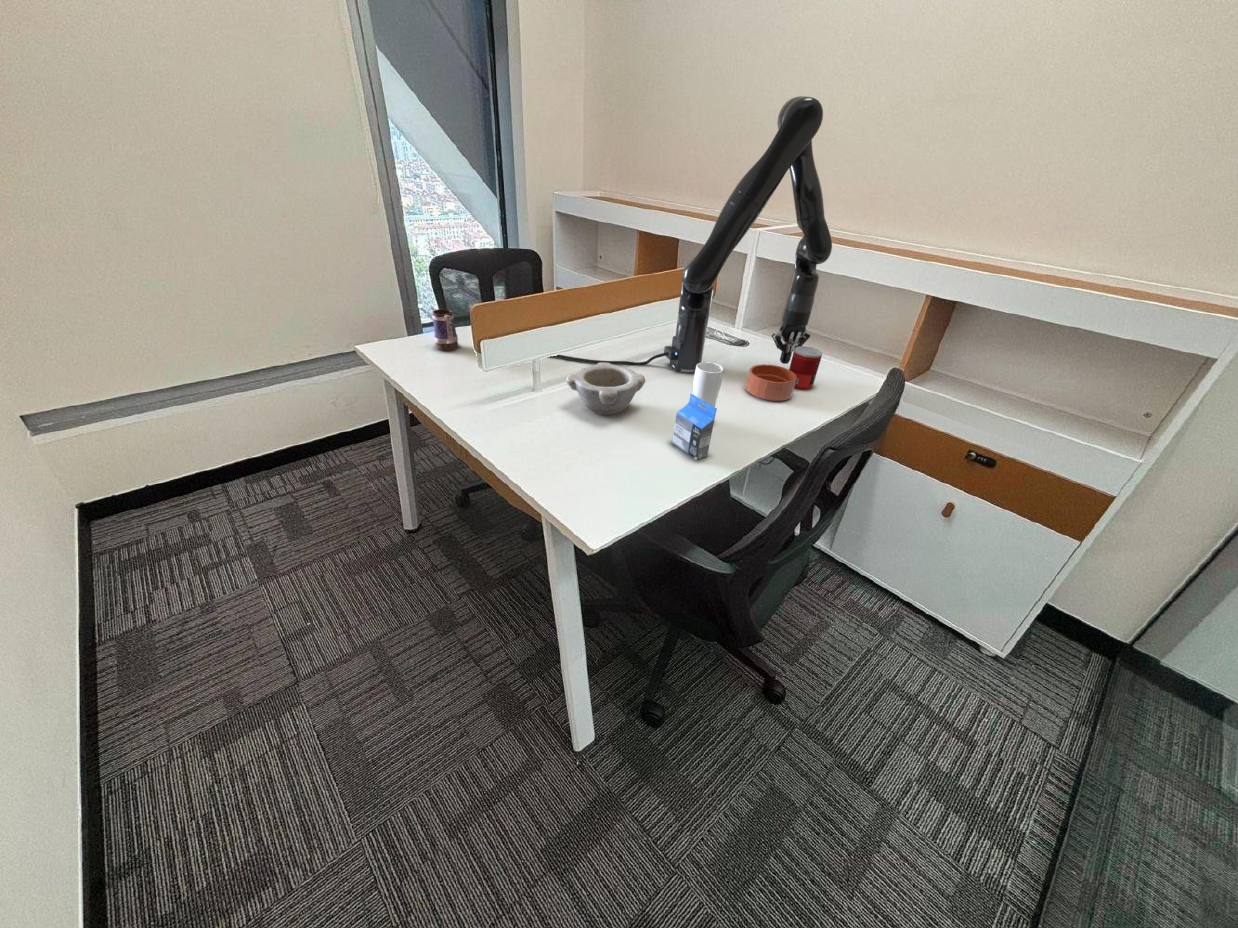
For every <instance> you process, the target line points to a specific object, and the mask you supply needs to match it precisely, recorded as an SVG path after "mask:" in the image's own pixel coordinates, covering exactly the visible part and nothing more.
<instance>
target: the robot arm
mask: <svg viewBox="0 0 1238 928" xmlns="http://www.w3.org/2000/svg"><path fill="white" fill-rule="evenodd" d="M823 120H824V109H823V105H822V104H821V102H820V100H818V99H817V98H815V97H813V96H806V95H804V96H802V95H801V96H794V97H791V98H789V99H788V100H787V101H786V102H785V103H784V104H783V105H782V107H781V108H780V110H779V112H778V116H777V121H776V122H777V123H776V124H777V129H778V130H777V132H776V134H775V135H774V137H773V139H772V141H771V142H770V144H769V146H768V148H767V149H766V150H765V152H764V153H763V155H762V156H761V157H760V158H759V159H757V161H756V162H755V163H754V164H753V165H752V167H751V168H750V169H749V170H748V171H747V172H746V173H745V174H744V175H743V176H742V177H741V179H739V181H738V183H737V184H736V186H735V187H734V188H733V190H732V192H731V193H730V195H729V197H728V199H727V200H726V202H725V203H724V205H723V207H722V209H721V211H720V213H719V215H718V217H717V218H716V220H715V224H714V226H713V228H712V230H711V232H710V235H709V237H708V239H707V240H706V241H705V243H704V244H703V246H702V247H701V249H700V251H698V253H697V254H696V255H695V256H693V257H691V258H690V259H689V260H687V262H686V263H685V265H684V267H683V272H682V281H681V288H680V296H679V303H678V312H677V321H676V327H675V335H673V336H672V339H671V345H669V346H668V345H666V346H664V348H663V352H661V353H657V354H655V355H653V356H651V357H649V358H648V359H647V360H645V361H639V362H638V361H637V362H635V361H628V360H601V359H600V360H599V359H590V358H589V359H588V358H581V357H575V356H569V355H564V354H558V355H557V356H553V357H552V358H556V359H557V358H559V359H564V360H568V361H576V362H581V363H582V362H583V363H589V364H598V363H601V362H605V363H610V364H613V365H628V366H644V365H648V364H650V363H651V362H653V361H654V360H656V359H658V358H662V357H666V358H667V359H668V360H669V364H668V365H669V367H671V368H672V369H673V370H674V371H675V372H676V373H685V374H695V370H696V365H697V364H699V363H702V362H703V355H704V349H705V343H706V336H707V330H708V325H709V319H710V312H711V303H712V295H713V290H714V285H715V282H716V280H717V279H718V277H719V275H720V272H721V271H722V269H723V267H724V265H725V263H726V262H727V260H728V259H729V257H730V255H731V254H732V253H733V251H734V250H735V248H736V247H737V246H738V245H739V243H740V242H741V241H742V239H743V238H745V236H746V234H747V233H748V232H749V230H750V229H751V227H752V226H753V225H754V223H755V222H756V220H757V219H758V218H759V216H760V215H761V213H762V212H763V210H764V209H765V208H766V205H767V204H768V202H769V201H770V199H771V197H772V196H773V195H774V194H775V191H776V190H777V189H778V187H779V186H780V184H781V182H782V181H783V179H784V177H785V175H786V174H787V172H788V171H789V175H790V179H791V188H792V194H793V201H794V202H793V203H794V209H795V218H796V223H797V227H798V229H799V230H801V232H802V234H803V236H802V237H801V238H800V240H799V241H798V244H797V246H796V250H795V256H794V275H793V278H792V283H791V287H790V291H789V294H788V296H787V299H786V303H785V307H784V311H783V315H782V318H781V321H782V322H781V323H782V324H781V326H780V327H779V331H778V332H776V333H772V334H771V338H772V340H773V342H774V345H775V346H776V349H778V350H779V351H780V352H781V353H780V357H779V361H780V363H781V364H783V365H788V364H789V362H791V359H792V356H793V353H794V350H795V348H796V347H799V346H804V344H805V343H806V342H807V341H808V340H809V339H810V338H811V334H810V333H808V332H807V326H808V324H809V321H810V317H811V314H812V310H813V308H814V307H813V306H814V304H815V303H814V302H815V296H816V293H817V289H818V285H819V282H820V274H819V273H818V271H817V265H821V264H823V263H825V262H827V261H828V259H829V258H830V256H831V254H832V250H833V241H832V236H831V232H830V229H829V226H828V223H827V220H826V217H825V206H824V205H825V203H824V196H823V190H822V185H821V181H820V178H819V174H818V170H817V166H816V164H815V157H814V152H813V151H814V150H813V139H814V138H815V136H816V135H817V133H818V132H819V130H820V128H821V126H822V124H823Z"/></svg>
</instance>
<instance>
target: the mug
mask: <svg viewBox="0 0 1238 928" xmlns="http://www.w3.org/2000/svg"><path fill="white" fill-rule="evenodd" d="M431 315H432V322H433V332H434V336H433V337H434V342H435V348H436V350H438V351H441V352H450V351H455V350H457V349H458V348H459V342H458V341H459V339H458V338H459V337H458V334H457V330H456V324H455V317H454V313H453V310H452V309H450V308H449V309H447V308H439V309H435V310H433V311H432V314H431Z"/></svg>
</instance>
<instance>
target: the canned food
mask: <svg viewBox="0 0 1238 928" xmlns="http://www.w3.org/2000/svg"><path fill="white" fill-rule="evenodd" d="M822 357H823V352H822V351H821V350H820V349H818V348H816V347H811V346H808V345H807V346H804V345H802V346H799V347H796V348H795V350H794V351H793V352H792V355H791V359H790V363H789V364H790V365H789V369H788V370H790V371H792V372H793V373H795V374H796V376H797V380H796V383H795V387H794V389H797V390H807V391H808V390H810V389H812V387H813V386H814V385H815V380H816V377H817V375H818V374H817V373H818V370H819V368H820V363H821V360H822Z"/></svg>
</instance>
